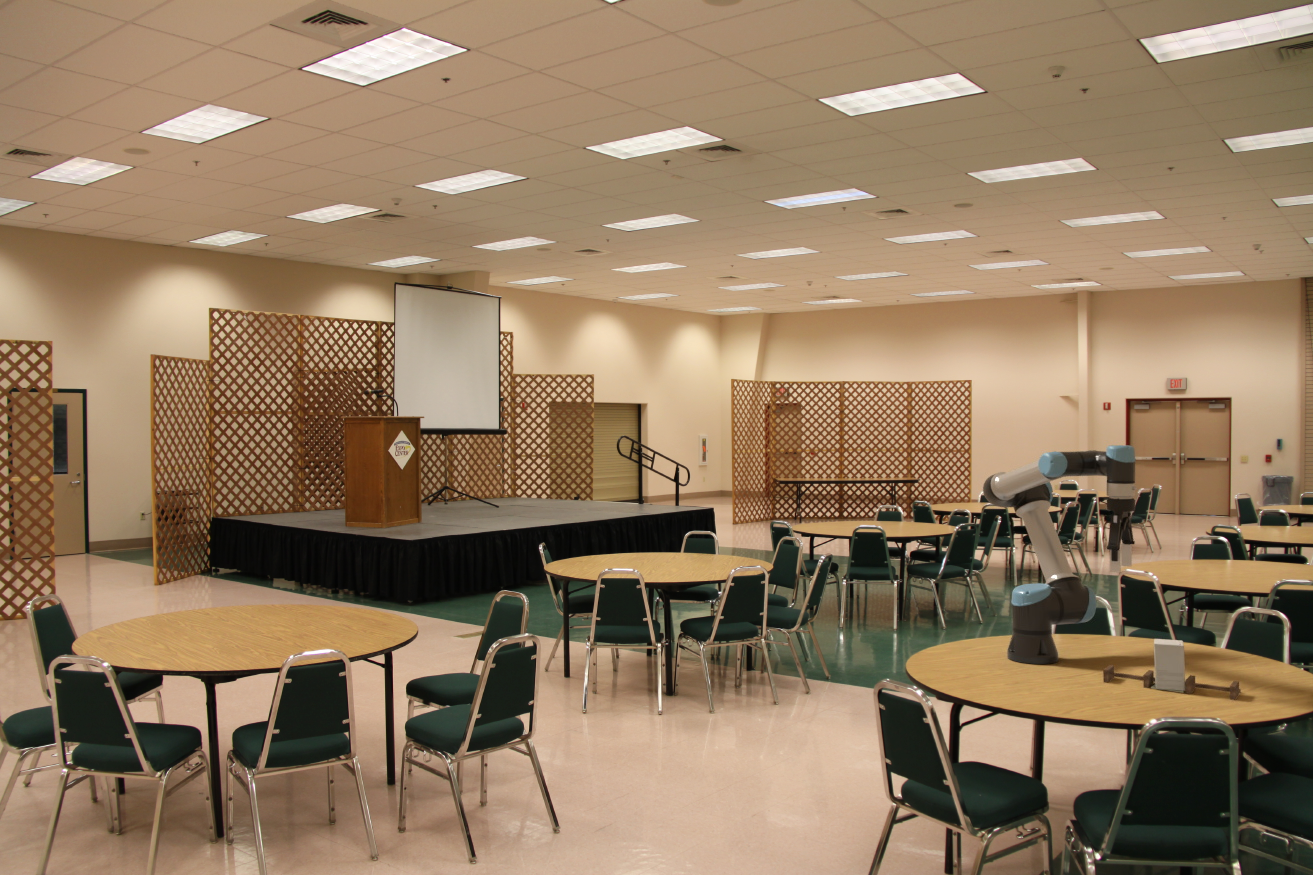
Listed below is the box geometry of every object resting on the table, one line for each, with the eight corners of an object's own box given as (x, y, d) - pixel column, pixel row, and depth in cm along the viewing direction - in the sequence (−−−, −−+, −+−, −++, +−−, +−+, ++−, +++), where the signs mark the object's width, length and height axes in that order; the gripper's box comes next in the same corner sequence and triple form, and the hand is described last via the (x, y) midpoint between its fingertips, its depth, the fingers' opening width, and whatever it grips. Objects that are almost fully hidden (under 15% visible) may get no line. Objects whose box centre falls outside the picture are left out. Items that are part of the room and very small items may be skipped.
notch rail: (1103, 681, 267) (1103, 669, 267) (1111, 675, 274) (1111, 663, 274) (1235, 699, 246) (1235, 686, 246) (1240, 692, 254) (1240, 679, 254)
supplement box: (1184, 685, 261) (1183, 640, 261) (1185, 691, 254) (1184, 645, 254) (1155, 682, 264) (1154, 637, 264) (1154, 688, 258) (1153, 642, 258)
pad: (1150, 688, 259) (1150, 687, 259) (1155, 683, 264) (1155, 682, 264) (1183, 692, 254) (1183, 691, 254) (1187, 687, 259) (1187, 686, 259)
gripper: (1124, 501, 263) (1124, 576, 263) (1144, 494, 282) (1144, 564, 283) (1096, 500, 267) (1096, 573, 268) (1117, 493, 287) (1117, 562, 287)
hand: (1121, 569), depth 275 cm, fingers open, 13 cm apart
